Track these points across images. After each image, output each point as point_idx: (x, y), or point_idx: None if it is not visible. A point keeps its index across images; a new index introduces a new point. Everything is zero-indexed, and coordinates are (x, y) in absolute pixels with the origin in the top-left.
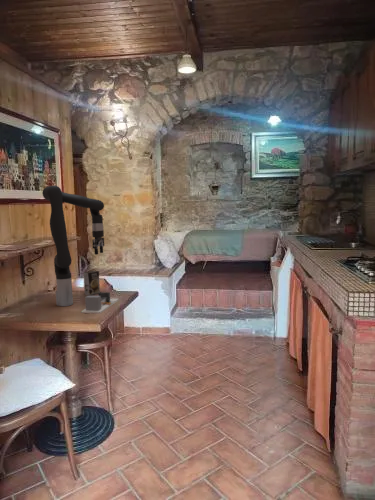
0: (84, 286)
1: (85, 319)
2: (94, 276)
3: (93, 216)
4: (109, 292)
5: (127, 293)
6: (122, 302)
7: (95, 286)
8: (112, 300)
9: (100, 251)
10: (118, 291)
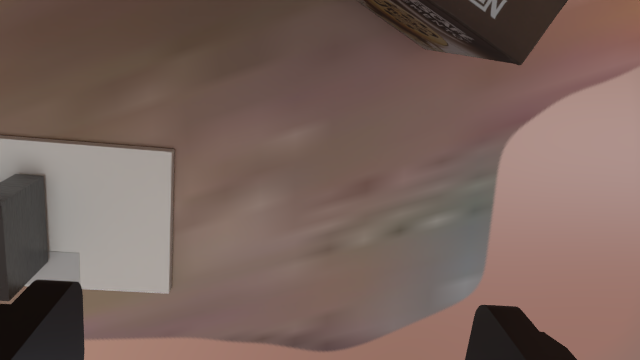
0: None
1: None
2: (425, 16)
3: None
4: (2, 299)
5: (392, 291)
6: (104, 328)
7: (399, 22)
8: (104, 260)
9: (494, 346)
10: (472, 201)
